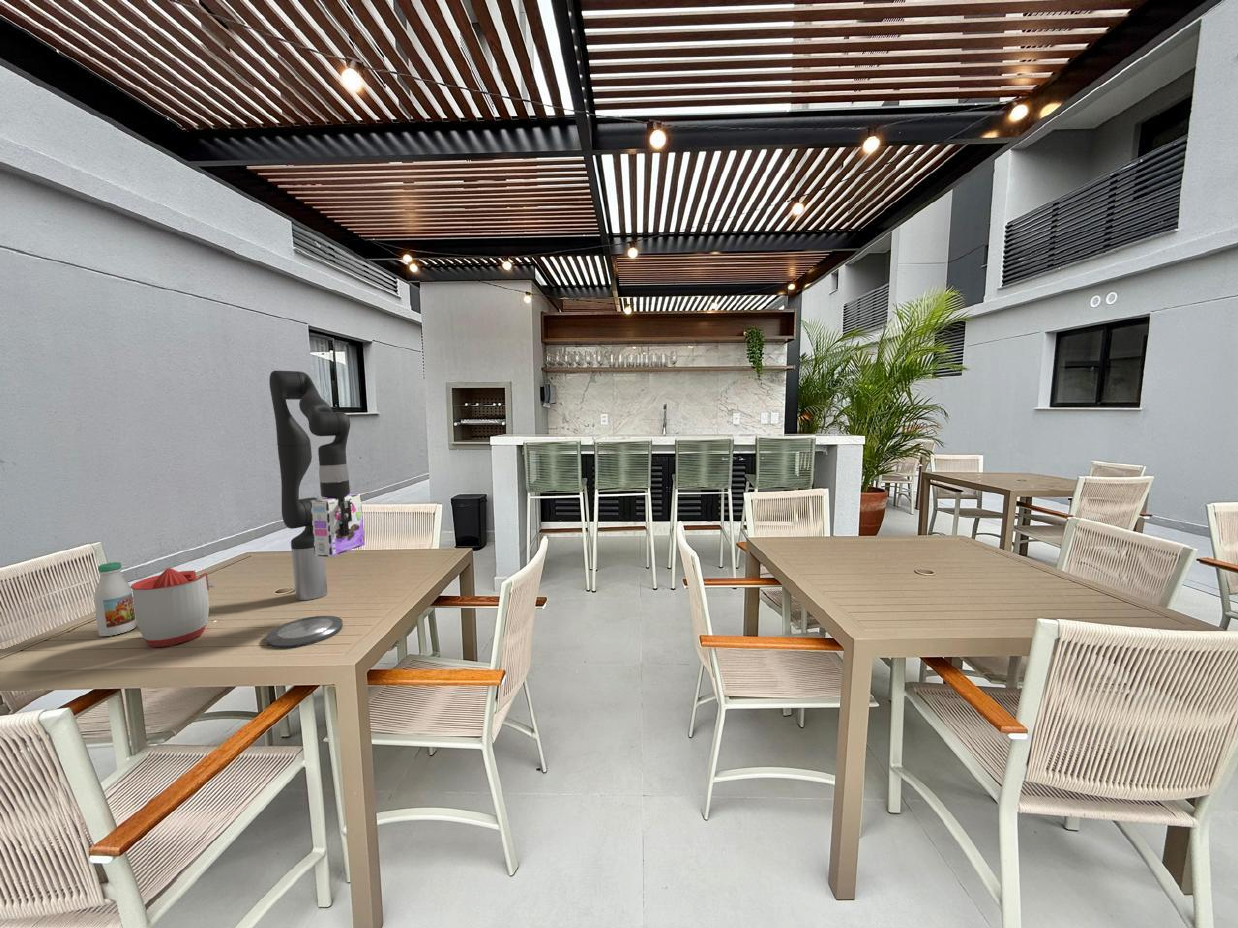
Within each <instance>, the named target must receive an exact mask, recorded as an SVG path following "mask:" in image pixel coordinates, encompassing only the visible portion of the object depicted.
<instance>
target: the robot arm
mask: <svg viewBox="0 0 1238 928" xmlns="http://www.w3.org/2000/svg"><path fill="white" fill-rule="evenodd" d="M268 381H269V391H270V396H271V401H272V408H273V414H274V419H275V428H276V430H275V431H276V443H277V444H276V445H277V454H278V461H279V469H280V470H279V471H280V480H281V482H280V483H281V484H280V486H281V517H282V520H283V523H284V525H285V526H286V528H288V529H292V530H293V529H298V528H304V529H303V531H302V532H300V533H299V534H298V535H296V536H295V537H293V538H292V539H291V541H290V546H291V559H292V569H293V579H294V591H295V592H294V593H295V599H296V600H298V601H308V600H310V601H311V600H313V599H314V600H315V599H318V598H319V599H320V598H321V597H324V596H326V595H327V594H328V583H327V581H328V580H327V570H326V558H325V557H324V556H315V554H314V541H313V528H312V514H311V500H317V499H318V498H317V497H307V498H306V497H305V498H299V497H300V494H299V492H300V485H301V483H302V480H303V478H304V477H305V475H306V472H307V471H308V469H309V467H310V465H311V464H312V460H313V459H312V458H313V454H312V443H311V439H310V437H309V434H308V433H307V432H306V431H305V430H304V429H303V427H302V426H301V425H300V424H299V423H298V422H297V421H296V420H295V417H293V414H292V413H291V412H290V410H289V406H288V402H287V400H290V401H292V400H299V402H298V403H299V405H298V407H299V410H300V411H301V413H302V415H303V416H305V418H306V420H307V421H308V429H309V431H310V433H311V434H312V435H315V436H317V437H334V438H333V441H332V442H329V443H325V444H322V445H320V446H319V447H318V448H317V453H318V454H317V455H318V461H319V462H318V463H319V469H318V470H319V471H318V473H319V474H318V475H319V486H320V496H321V497H322V498H327V497H334V498H337V499H338V505H339V507H340V510H341V513H340V514H339V515H338V516H339V523H340V524H339V526H340V536H342V537H343V536H348V535H349V525H348V523H349V522H350V521H352V514H351V504H350V501H345V498H344V496H345V495H349V494H351V487H350V486H351V485H350V474H349V468H348V464H347V452H346V451H347V445H348V444H347V443H348V438H349V437H348V436H349V434H350V430H351V421H350V417H349V415H348V414H347V413H345V412H343V411H333V409H332V407H331V406H330V405H329V404H328V403H327V402H326V401H325V400H324V399H323V398H322V396H321V395H320V393H319V391H318V389H317V387H316V385H315V383H314V381H313V380H312V378H311V377H310V375H309V374H308V373H306V372H304V371H300V370H299V371H296V370H295V371H294V370H272V371H271V372H270V374H269V380H268Z"/></svg>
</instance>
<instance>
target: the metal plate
mask: <svg viewBox="0 0 1238 928" xmlns="http://www.w3.org/2000/svg"><path fill="white" fill-rule="evenodd" d="M343 624H344V623H343V619H342V618H341V617H338V616H334V615H316V616H309V617H303V618H300V619H295V620H293V621H290V622H287V623H284V624H281V625H279V626H277V627H275V628H273V629H272V630H271V631H269V632H268V633H267V634H266V637H265V638H266V639H265V640H266V645H268V646H269V647H271V648H274V649H275V648H276V649H291V648H298V647H299V648H300V647H305V646H309V645H312V644H316V643H319V642H320V643H321V642H322V641H325V640H328V639H329V638H331V637H334V636H335V635H337V634H338V633H339V632H340V631H341V630H342V629H343Z"/></svg>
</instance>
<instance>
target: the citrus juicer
mask: <svg viewBox="0 0 1238 928" xmlns="http://www.w3.org/2000/svg"><path fill="white" fill-rule="evenodd" d="M214 587H215V585H214V583H212V582H209V580H208V572H205V573H203V574H201V575H199V577H198V578H197V573H196V570H185V571H184V570H183V571H178V570H176V569H173V568H171V567H168V568H166V569H165V570H163V571H162V572H161V574H159V575H154V576H150V577H147V578H144V579H141V580H138V581H135V582H134V583H132V584H131V585H130V588H131V591H132V597H133V604H134V612H135V620H136V626H137V627H138V629H139V630H138V631H139V632H140V635H142V637H143V638H142V639H143V640H144V641H145V642H146V644H147V645H148V646H150V647H154V648H159V647H164V646H169V647H171V646H170V645H172V646H174V645H177V644H181V643H185V642H188V641H190V640H194V639H196V638H197V637H200V636H202V634H204V632H205V630H206V627H207V623H208V622H207V621H208V617H209V609H210V603H209V593H208V591H210V588H214Z"/></svg>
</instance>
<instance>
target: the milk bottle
mask: <svg viewBox="0 0 1238 928" xmlns="http://www.w3.org/2000/svg"><path fill="white" fill-rule="evenodd" d="M97 570H98V575H99V581H98V583H97V585H96V588H95V590H94V595H93V600H94V611H95V619H96V626H97V632H98V636H99V637H100V636H110V637H112V636H111V635H116V636H118V635H117V634H120V633H124V632H127V631H130V630H132V629H134V628H135V627H137V621H136V616H135V608H134V600H133V592H132V589H131V585H130V584H129V582H128V581H127V580H126V579H125V577H124V575H122V572H121V571H122V564H121V562H108V563H107V562H106V563H103V564H100V565H98V566H97ZM135 629H136V628H135ZM135 629H134V630H135ZM132 631H133V630H132ZM130 632H131V631H130ZM127 633H128V632H127ZM124 634H125V633H124ZM120 635H121V634H120Z"/></svg>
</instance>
